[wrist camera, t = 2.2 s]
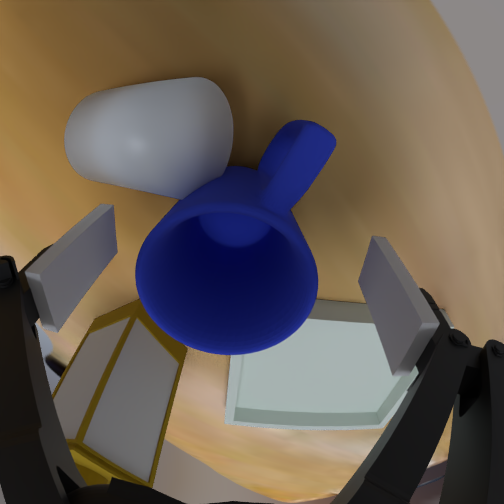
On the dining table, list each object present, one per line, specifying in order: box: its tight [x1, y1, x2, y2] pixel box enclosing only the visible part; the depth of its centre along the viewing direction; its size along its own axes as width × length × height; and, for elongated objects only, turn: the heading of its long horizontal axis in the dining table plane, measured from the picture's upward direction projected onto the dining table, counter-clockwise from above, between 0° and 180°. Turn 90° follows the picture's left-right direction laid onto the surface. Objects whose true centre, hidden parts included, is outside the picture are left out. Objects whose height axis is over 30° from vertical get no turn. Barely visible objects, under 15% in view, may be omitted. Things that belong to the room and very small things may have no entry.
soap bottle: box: [52, 299, 187, 488], centre depth 18 cm, size 7×13×24 cm, turn 28°
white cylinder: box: [64, 77, 233, 200], centre depth 16 cm, size 6×6×8 cm
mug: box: [135, 120, 336, 355], centre depth 17 cm, size 8×12×10 cm
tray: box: [224, 299, 454, 430], centre depth 30 cm, size 18×20×3 cm
